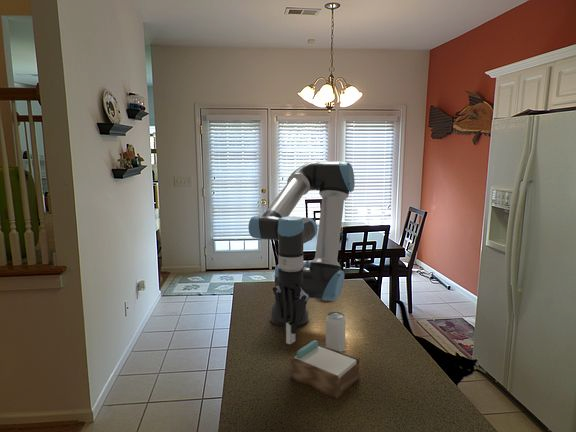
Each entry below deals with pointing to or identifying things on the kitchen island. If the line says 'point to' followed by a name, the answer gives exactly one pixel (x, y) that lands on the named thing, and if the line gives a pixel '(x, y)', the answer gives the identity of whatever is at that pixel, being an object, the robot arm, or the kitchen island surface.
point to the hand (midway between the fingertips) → (290, 341)
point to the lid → (325, 359)
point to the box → (324, 376)
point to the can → (335, 331)
